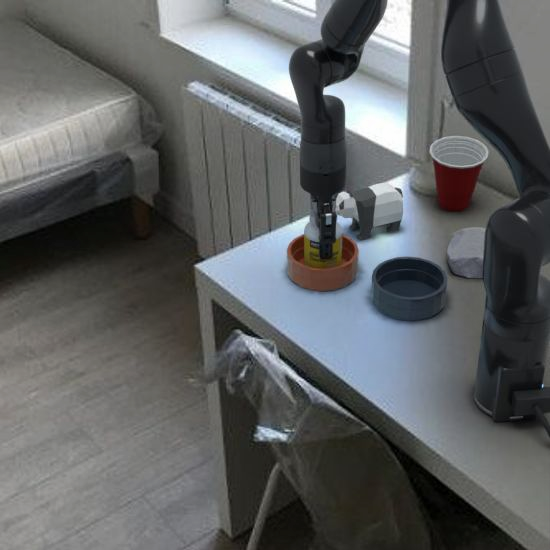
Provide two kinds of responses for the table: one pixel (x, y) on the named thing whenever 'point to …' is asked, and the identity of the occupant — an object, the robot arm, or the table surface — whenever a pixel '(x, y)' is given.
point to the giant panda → (371, 208)
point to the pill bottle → (313, 246)
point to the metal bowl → (409, 288)
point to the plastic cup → (457, 170)
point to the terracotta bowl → (322, 276)
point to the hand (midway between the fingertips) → (323, 246)
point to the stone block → (467, 252)
